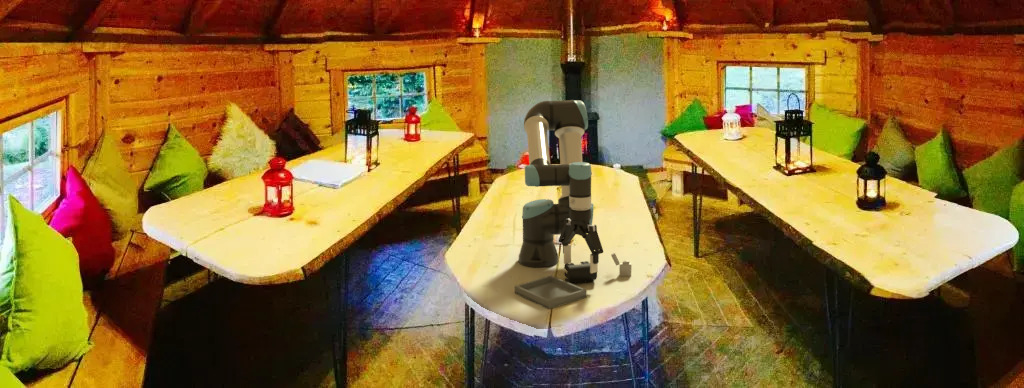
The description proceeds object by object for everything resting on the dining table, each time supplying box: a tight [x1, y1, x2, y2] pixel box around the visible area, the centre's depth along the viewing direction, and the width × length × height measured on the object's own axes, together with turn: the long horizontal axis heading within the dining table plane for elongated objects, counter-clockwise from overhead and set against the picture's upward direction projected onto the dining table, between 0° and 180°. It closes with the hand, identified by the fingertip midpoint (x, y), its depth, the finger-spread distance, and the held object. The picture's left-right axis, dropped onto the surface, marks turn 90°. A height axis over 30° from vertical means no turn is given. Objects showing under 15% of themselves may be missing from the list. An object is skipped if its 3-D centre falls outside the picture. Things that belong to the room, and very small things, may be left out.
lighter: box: [610, 252, 632, 277], centre depth 253 cm, size 7×2×8 cm, turn 83°
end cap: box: [563, 260, 598, 285], centre depth 247 cm, size 10×7×7 cm
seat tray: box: [514, 275, 588, 310], centre depth 236 cm, size 18×16×3 cm
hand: (580, 267), depth 246 cm, fingers open, 13 cm apart
